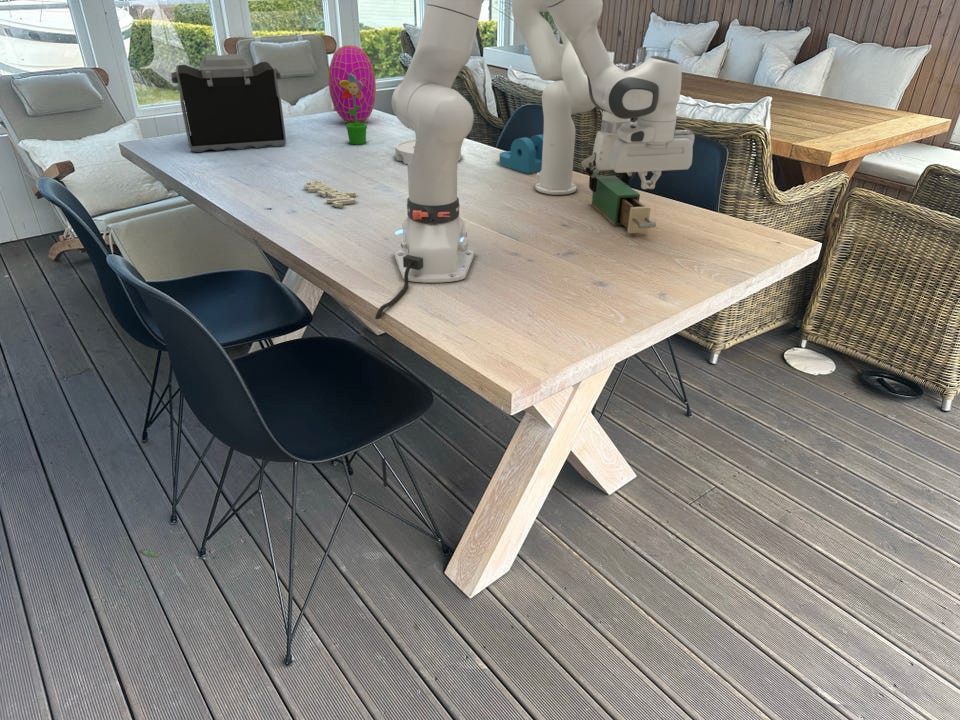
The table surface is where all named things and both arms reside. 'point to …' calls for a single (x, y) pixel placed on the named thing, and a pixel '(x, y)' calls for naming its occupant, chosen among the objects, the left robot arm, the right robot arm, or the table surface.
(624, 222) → the drawer
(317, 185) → the decorative sign
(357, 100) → the decorative egg
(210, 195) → the table surface
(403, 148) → the ashtray
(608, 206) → the cabinet
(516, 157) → the camera mount
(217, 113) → the electronic device
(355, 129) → the potted flower
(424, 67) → the left robot arm
